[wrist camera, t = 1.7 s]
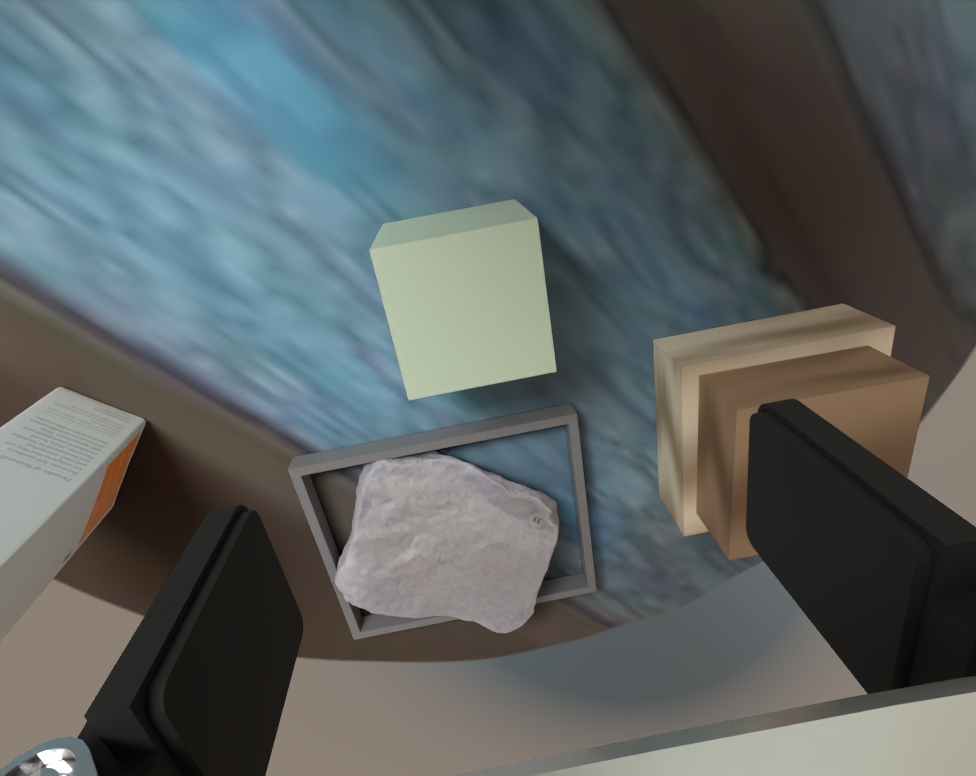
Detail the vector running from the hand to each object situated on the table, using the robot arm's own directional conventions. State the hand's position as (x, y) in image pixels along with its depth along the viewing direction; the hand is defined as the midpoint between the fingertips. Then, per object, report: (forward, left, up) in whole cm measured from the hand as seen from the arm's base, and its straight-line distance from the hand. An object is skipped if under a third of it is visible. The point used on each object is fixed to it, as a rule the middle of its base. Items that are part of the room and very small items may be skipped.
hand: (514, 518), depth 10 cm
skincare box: (+5, -20, -18) cm, 27 cm away
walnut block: (+9, +14, -14) cm, 22 cm away
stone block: (+14, -3, -18) cm, 23 cm away
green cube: (0, 0, -18) cm, 18 cm away
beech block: (+10, +14, -18) cm, 25 cm away
